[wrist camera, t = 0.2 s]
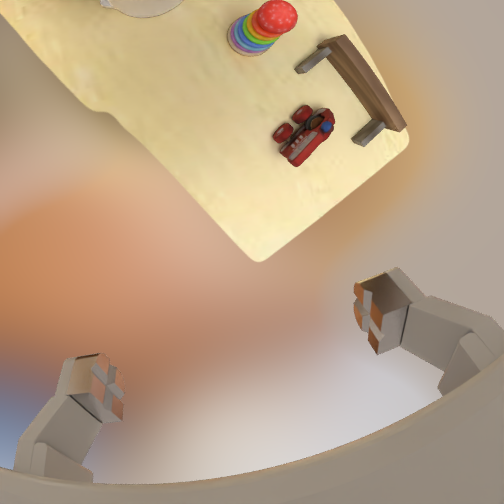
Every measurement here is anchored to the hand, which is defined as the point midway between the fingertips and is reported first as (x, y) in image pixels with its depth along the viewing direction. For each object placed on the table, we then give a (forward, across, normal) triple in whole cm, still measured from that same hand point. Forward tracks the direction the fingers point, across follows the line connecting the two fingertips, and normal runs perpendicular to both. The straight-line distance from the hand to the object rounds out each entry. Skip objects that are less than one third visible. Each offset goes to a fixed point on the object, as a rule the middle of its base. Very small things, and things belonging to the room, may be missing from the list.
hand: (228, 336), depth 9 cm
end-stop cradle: (+48, -29, -1) cm, 56 cm away
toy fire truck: (+48, -18, +5) cm, 52 cm away
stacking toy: (+48, -13, -15) cm, 52 cm away
